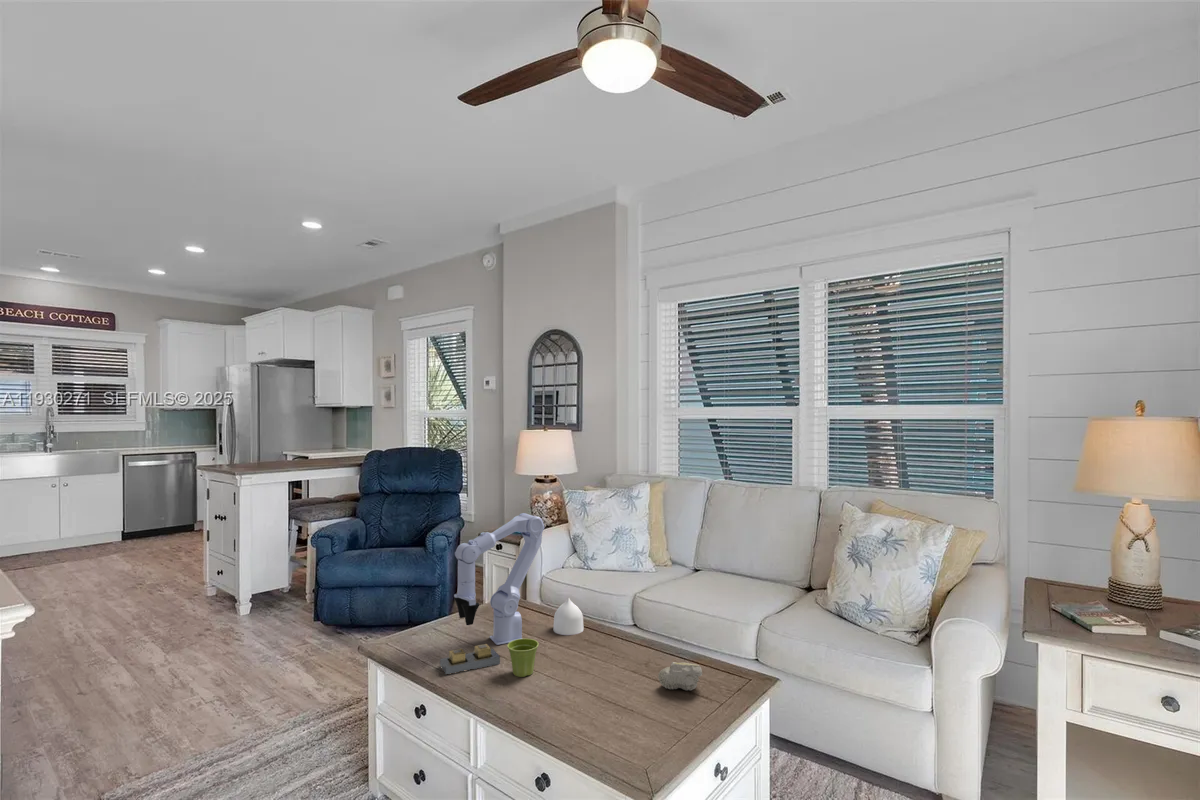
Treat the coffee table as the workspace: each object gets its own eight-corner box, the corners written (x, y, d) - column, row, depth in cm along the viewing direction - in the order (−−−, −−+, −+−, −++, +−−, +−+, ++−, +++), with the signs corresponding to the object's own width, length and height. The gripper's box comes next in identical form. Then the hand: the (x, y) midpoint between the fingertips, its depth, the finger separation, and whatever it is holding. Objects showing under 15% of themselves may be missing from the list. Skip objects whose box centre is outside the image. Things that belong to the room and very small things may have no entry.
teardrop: (566, 637, 211) (566, 603, 211) (547, 629, 219) (547, 596, 219) (589, 630, 219) (589, 596, 219) (570, 622, 227) (570, 590, 227)
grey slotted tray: (492, 656, 195) (492, 648, 195) (499, 664, 189) (499, 656, 189) (440, 666, 187) (440, 659, 187) (445, 675, 181) (446, 667, 181)
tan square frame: (486, 659, 193) (486, 643, 193) (490, 664, 189) (490, 647, 189) (474, 662, 191) (474, 645, 191) (478, 666, 187) (478, 649, 187)
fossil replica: (654, 683, 177) (667, 702, 167) (653, 656, 176) (666, 673, 166) (692, 675, 180) (707, 693, 170) (691, 648, 179) (706, 665, 169)
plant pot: (533, 681, 177) (533, 651, 177) (502, 678, 179) (502, 649, 179) (542, 667, 186) (542, 639, 186) (513, 665, 188) (513, 637, 188)
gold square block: (461, 664, 189) (461, 647, 189) (465, 669, 185) (465, 652, 185) (448, 667, 187) (449, 650, 187) (452, 672, 183) (452, 654, 183)
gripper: (448, 576, 205) (448, 616, 205) (460, 587, 193) (460, 630, 192) (469, 573, 209) (468, 613, 209) (482, 584, 196) (481, 626, 196)
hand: (466, 621), depth 201 cm, fingers open, 7 cm apart
